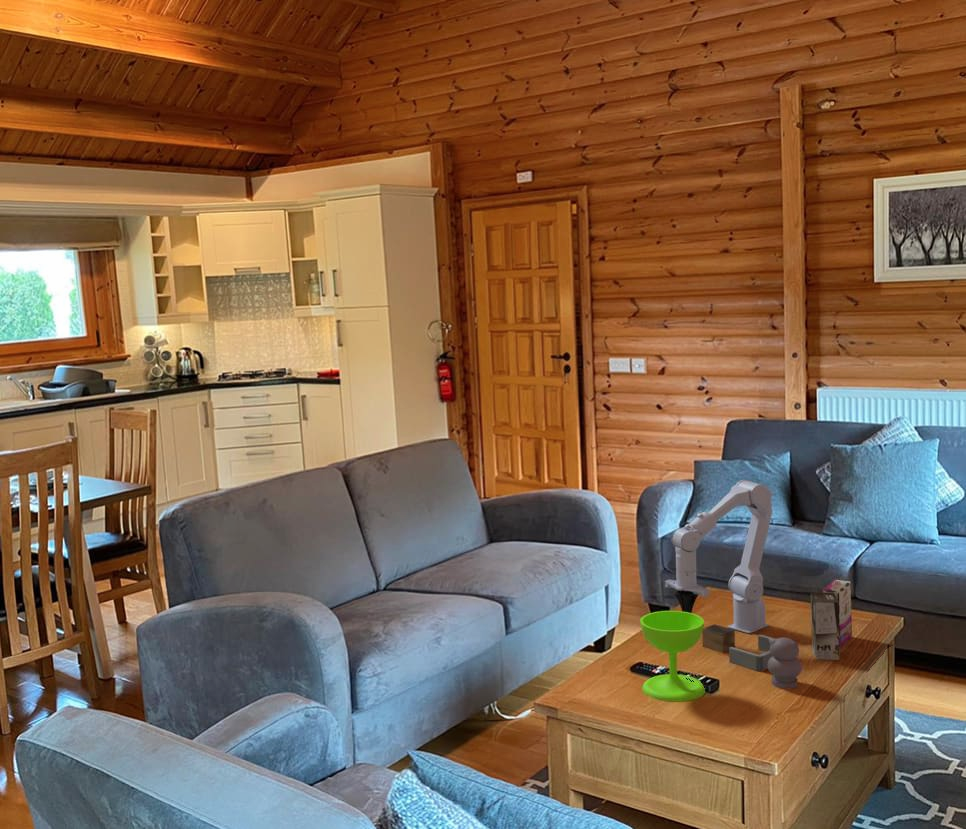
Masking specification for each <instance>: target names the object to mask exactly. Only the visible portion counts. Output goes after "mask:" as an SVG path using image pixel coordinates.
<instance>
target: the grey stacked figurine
mask: <svg viewBox="0 0 966 829" xmlns="http://www.w3.org/2000/svg"><path fill="white" fill-rule="evenodd" d="M772 638H773V637H771V638H768V639H769V642H770V645H771V646H770V652H771V654H772V657H771V658H770V659H769V661H768V669H767V670H768V671H769V673H770V674H771V675H772V677H771V685H772V686H773V687H776V688H778V689H783V690H784V689H785V690H788V689H794V688H797V687H798V678H797V677H798V676H800V675H801V673H802V671H803V663H802V662H801V660H800V659H799V658H798V657H799V653H800V647H799V642H797V641H794V639H791V638H789V637H779V638H778V637H777V638H775V639H772Z"/></svg>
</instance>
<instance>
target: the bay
mask: <svg viewBox="0 0 966 829" xmlns="http://www.w3.org/2000/svg"><path fill="white" fill-rule="evenodd" d="M768 638H772V639H776V638H774V637H770V636H768V635H763V634H759V635H757V648H758V650H759V651H762V652H763V653H760V654H759V653H758V654H757V653H754V652H750V651H747V650H743V649H740V648H737V647H735V648H734V647H730V648H729V651H728V659H729V660H728V663H730V664H731V663H732V664H734V665H738V666H741V667H742V668H744V667H745V668H747V669H751V670H753V671H756V672H763V671H766V670H769V669H768V661H769V659H770V658H771V657H772V654H771V652H770V646H771V645H770V642H769V639H768Z"/></svg>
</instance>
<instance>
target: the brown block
mask: <svg viewBox="0 0 966 829" xmlns="http://www.w3.org/2000/svg"><path fill="white" fill-rule="evenodd" d="M735 632H736V630H735V629H731V628H728V627H726V626H722V625H717V624H715V623H714V624H711V625H709V626H706V627H703V632H702V634H701V636H702V648H704V649H709V650H712V651H714V652H715V651H716V652H718V653H721V654H724V653H726V652H729V648H730V647H734V648H736V642H735V641H736V637H735V636H736V635H735Z"/></svg>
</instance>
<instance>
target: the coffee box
mask: <svg viewBox="0 0 966 829" xmlns="http://www.w3.org/2000/svg"><path fill="white" fill-rule="evenodd" d="M810 619H811V620H810V623H811V624H810V627H811V636H810V637H811V650H812V652H813V655H814V658H815V659H816V660H825V661H826V660H828V661H830V660H832V661H840V648H839V601H838V599H837V598H836V596H835V594H834V593H822V592H810ZM836 659H838V660H836Z"/></svg>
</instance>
